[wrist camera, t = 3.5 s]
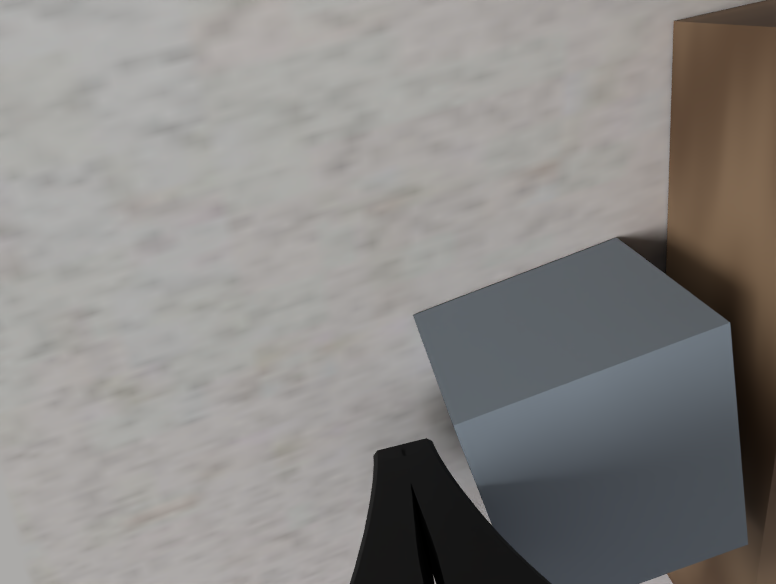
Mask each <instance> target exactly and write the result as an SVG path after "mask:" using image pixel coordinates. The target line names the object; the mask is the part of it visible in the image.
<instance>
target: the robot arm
mask: <svg viewBox="0 0 776 584" xmlns="http://www.w3.org/2000/svg"><path fill="white" fill-rule="evenodd" d="M433 575H434V577H433ZM434 578H435V581H436V584H552V583H550V582H549V581H548V580H547V579H546V578H545V577H544V576H542V575H541V574H540V573H539V572H538V571H537V570H536V569H535V568H534V567H532V566H531V565H530V564H529V563H528V562H527V561H526V560H525V559H524V558H523V557H522V556H521V555H520V554H519V553H518V552H517V551H516V550H515V549H514V548H513V547H512V546H511V545H510V544H509V543H508V542H507V541H506V540H505V539H504V538H503V537H502V536H501V535H500V534H499V533H498V532H497V531H496V530H495V528H494V527H493V526H492V525H491V524H490V523H489V522H488V521H487V520H486V518H485V517H484V516H483V515H482V514H481V513H480V511H479V510H478V509H477V508H476V507H475V505H474V504H473V503H472V501H471V500H470V499H469V498H468V496H467V495H466V494H465V493H464V491H463V490H462V489H461V488H460V486H459V485H458V483H457V482H456V481H455V479H454V478H453V476H452V475H451V473H450V472H449V470H448V469H447V467H446V466H445V464H444V463H443V461H442V459H441V458H440V456H439V454H438V452H437V450H436V449H435V446H434V444H433V442H432V441H431V440H429V439H427V438H426V439H422V440H418V441H414V442H410V443H406V444H402V445H398V446H394V447H390V448H386V449H382V450H378V451H377V452H376V453H375V454H374V471H373V483H372V491H371V498H370V504H369V509H368V514H367V520H366V525H365V530H364V534H363V538H362V542H361V546H360V550H359V553H358V557H357V561H356V565H355V568H354V572H353V575H352V578H351V581H350V584H434Z"/></svg>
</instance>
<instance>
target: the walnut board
mask: <svg viewBox="0 0 776 584" xmlns="http://www.w3.org/2000/svg"><path fill="white" fill-rule="evenodd" d="M666 275H667V276H669V277H670V278H671V279H673V280H674V281H675V282H677V283H678V284H679V285H681V286H682V287H683V288H685V289H686V290H687V291H689V292H690V293H691V294H693V295H694V296H695V297H697V298H698V299H699V300H701V301H702V302H703V303H705V304H706V305H707V306H709V307H710V308H711V309H713V310H714V311H715V312H717V313H718V314H719V315H721V316H722V317H723V318H725V319H726V320H727V321H729V322H730V327H731V339H732V352H733V364H734V376H735V388H736V401H737V413H738V425H739V437H740V450H741V462H742V474H743V487H744V499H745V511H746V523H747V536H748V545H745V546H743V547H740V548H737V549H734V550H731V551H729V552H726V553H723V554H720V555H717V556H715V557H712V558H709V559H706V560H704V561H701V562H698V563H695V564H692V565H690V566H687V567H684V568H681V569H678V570H676V571H673V572H670V573H667V575H668V576H669V578H670V579H671V581H672V582H673V584H776V0H766V1H761V2H757V3H752V4H748V5H743V6H739V7H735V8H730V9H726V10H721V11H717V12H712V13H708V14H704V15H699V16H695V17H690V18H686V19H681V20H677V21H674V30H673V63H672V96H671V128H670V161H669V193H668V226H667V259H666Z"/></svg>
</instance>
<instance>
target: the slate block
mask: <svg viewBox="0 0 776 584" xmlns="http://www.w3.org/2000/svg"><path fill="white" fill-rule="evenodd" d="M413 316H414V319H415V322H416V325H417V327H418V330H419V333H420V336H421V338H422V341H423V344H424V347H425V349H426V352H427V355H428V358H429V360H430V363H431V366H432V369H433V371H434V374H435V377H436V380H437V382H438V385H439V388H440V391H441V393H442V396H443V399H444V401H445V404H446V407H447V410H448V412H449V415H450V418H451V421H452V423H453V426H454V429H455V431H456V434H457V436H458V439H459V441H460V444H461V447H462V449H463V452H464V454H465V457H466V459H467V462H468V464H469V467H470V470H471V472H472V475H473V477H474V480H475V482H476V485H477V488H478V490H479V493H480V495H481V498H482V500H483V503H484V505H485V508H486V511H487V513H488V516H489V518H490V521H491V523H492V526H493V527H494V528H495V530H496V531H497V532H498V533H499V534H500V535H501V536H502V537H503V538H504V539H505V540H506V541H507V542H508V543H509V544H510V545H511V546H512V547H513V548H514V549H515V550H516V551H517V552H518V553H519V554H520V555H521V556H522V557H523V558H524V559H525V560H526V561H527V562H528V563H529V564H530V565H531V566H532V567H534V568H535V569H536V570H537V571H538V572H539V573H540V574H541V575H542V576H544V577H545V578H546V579H547V580H548V581H549V582H550V583H552V584H639V583H642V582H645V581H648V580H651V579H653V578H656V577H659V576H662V575H664V574H667V573H670V572H673V571H676V570H678V569H681V568H684V567H687V566H690V565H692V564H695V563H698V562H701V561H704V560H706V559H709V558H712V557H715V556H717V555H720V554H723V553H726V552H729V551H731V550H734V549H737V548H740V547H743V546H745V545H748V536H747V523H746V511H745V499H744V487H743V474H742V462H741V450H740V437H739V425H738V413H737V401H736V388H735V376H734V364H733V352H732V339H731V327H730V322H729V321H727V320H726V319H725V318H723V317H722V316H721V315H719V314H718V313H717V312H715V311H714V310H713V309H711V308H710V307H709V306H707V305H706V304H705V303H703V302H702V301H701V300H699V299H698V298H697V297H695V296H694V295H693V294H691V293H690V292H689V291H687V290H686V289H685V288H683V287H682V286H681V285H679V284H678V283H677V282H675V281H674V280H673V279H671V278H670V277H669V276H667V275H666V274H665V273H663V272H662V271H661V270H659V269H658V268H657V267H655V266H654V265H653V264H651V263H650V262H649V261H647V260H646V259H645V258H643V257H642V256H641V255H639V254H638V253H637V252H635V251H634V250H633V249H631V248H630V247H629V246H627V245H626V244H625V243H623V242H622V241H621V240H619V239H618V238H614V239H612V240H609V241H607V242H604V243H601V244H599V245H596V246H593V247H591V248H588V249H586V250H583V251H580V252H578V253H575V254H572V255H570V256H567V257H565V258H562V259H559V260H557V261H554V262H551V263H549V264H546V265H544V266H541V267H538V268H536V269H533V270H530V271H528V272H525V273H523V274H520V275H517V276H515V277H512V278H509V279H507V280H504V281H502V282H499V283H496V284H494V285H491V286H488V287H486V288H483V289H481V290H478V291H475V292H473V293H470V294H467V295H465V296H462V297H459V298H457V299H454V300H452V301H449V302H446V303H444V304H441V305H438V306H436V307H433V308H431V309H428V310H425V311H423V312H420V313H417V314H415V315H413Z"/></svg>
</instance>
